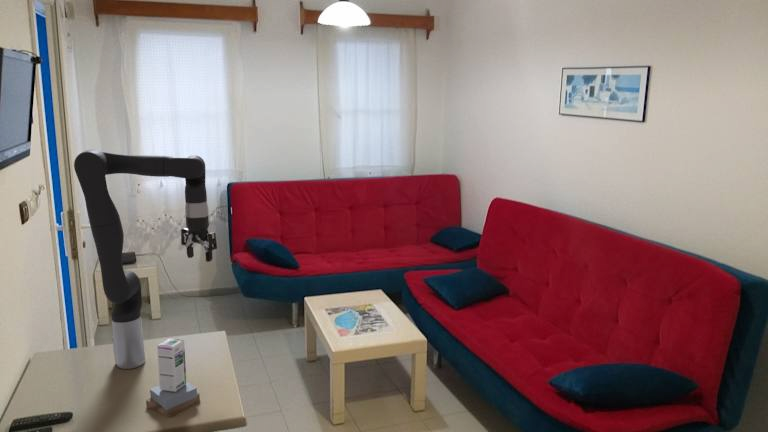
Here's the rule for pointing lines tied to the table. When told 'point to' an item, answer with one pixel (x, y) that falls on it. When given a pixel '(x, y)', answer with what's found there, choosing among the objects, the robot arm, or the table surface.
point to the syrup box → (171, 364)
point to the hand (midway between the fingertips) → (199, 259)
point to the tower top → (173, 395)
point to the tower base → (172, 411)
